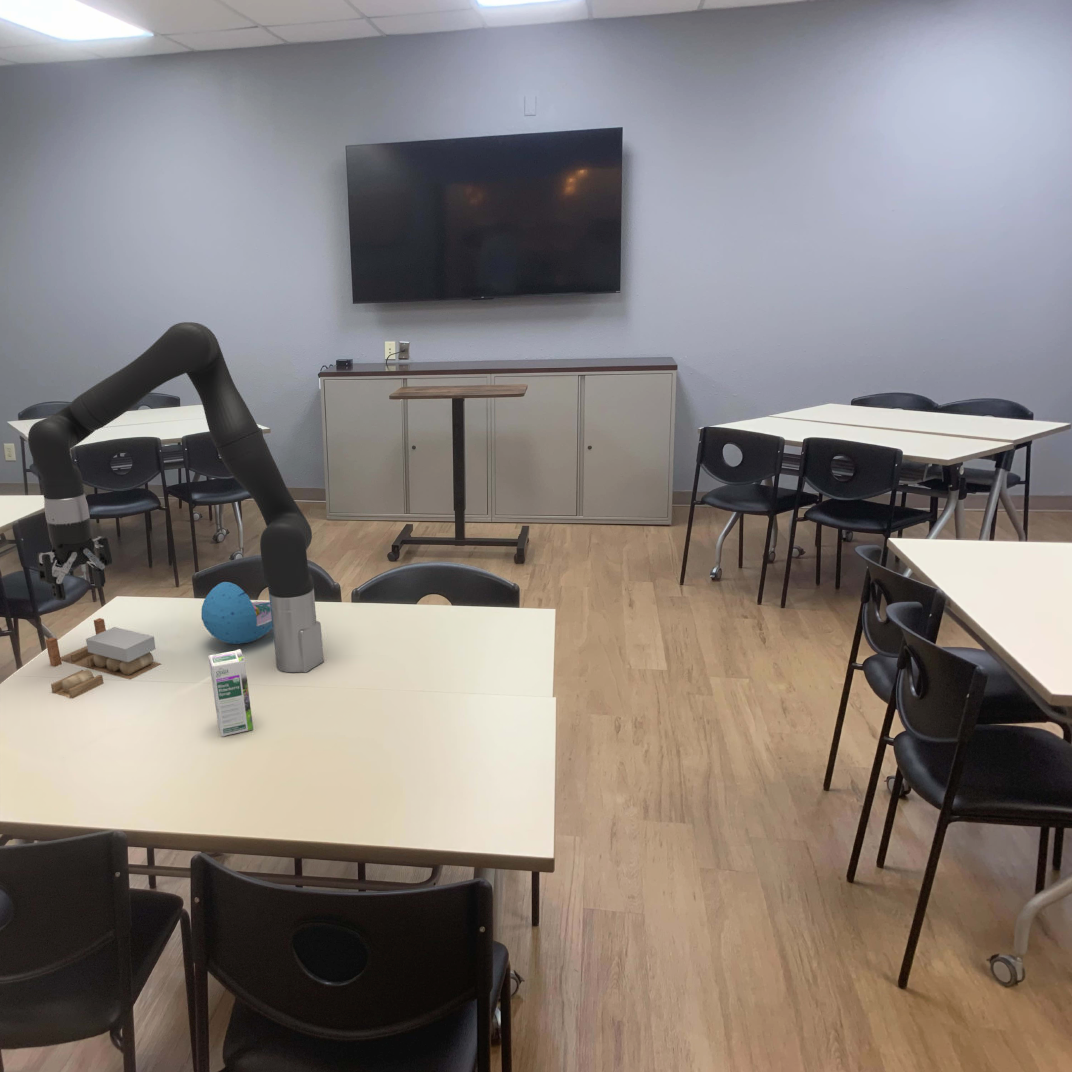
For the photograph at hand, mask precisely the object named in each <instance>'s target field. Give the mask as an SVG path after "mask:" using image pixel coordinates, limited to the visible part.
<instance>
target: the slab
mask: <svg viewBox="0 0 1072 1072" xmlns="http://www.w3.org/2000/svg"><path fill="white" fill-rule="evenodd" d="M85 642H86V643H85V644H86V646H87V648H88V652H90V653H94V654H98V655H102V656H106V657H109V658H113V659H117V660H121V661H125V662H130V661H132V660H134V659H136V658H138V657H140V656H142V655H144V654H147V653H149V652H150V653H151V652H153V651H155V650H156V643H155V637H154V636H153V635H149V634H145V633H142V632H141V633H140V632H136V631H133V630H128V629H125V628H120V627H117V626H114V627H112V628H109V629H106V631H104V632H101V633H99V634H97V635H96V634H95V635H92V636H89V637H88V638H85Z"/></svg>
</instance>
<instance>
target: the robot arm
mask: <svg viewBox="0 0 1072 1072" xmlns="http://www.w3.org/2000/svg"><path fill="white" fill-rule="evenodd" d="M185 374H186V376H187V377H188V378H189V380H190V381H191V383H192V385H193V387H194V389H195V390H196V392H197V394H198V396H199V398H200V401H201V404H202V407H203V412H204V415H205V416H204V417H205V420H206V424H207V427H208V432H209V434H210V437H211V440H212V443H213V444H214V446H215V447H214V448H216V450H217V453H218V454H219V457H220V458H221V461H222V462H223V464H224V466H225V467H226V469H227V471H228V472H229V473H230V474H231V476H232V477H233V478H234V480H235V481H237V483H238V484H240V486H242V488H244V490H245V491H246V492H247V493H248V494H249V496H251V498H252V499H253V500H254V502H255V503H256V506H257V507H258V509H259V511H260V513H261V515H262V517H263V520H264V522H265V525H266V526H265V529H264V530H263V531H262V533H261V535H260V540H259V541H260V543H259V545H260V548H259V549H260V559H261V564H262V572H263V578H264V582H265V585H267V589H268V596H269V597H268V598H269V602H270V609H271V619H272V628H271V629H272V636H273V646H274V654H275V655H274V656H275V664H276V668H277V669H278V670H280V671H281V672H287V673H298V672H299V673H300V672H301V673H302V672H303V673H308V672H309V671H310V670H312V669H314V668H315V667H317V666H318V665H320V664H322V663H323V662H324V661H325V660H324V651H323V649H324V648H323V638H322V637H323V636H322V625H321V622H320V621H317V611H316V599H315V598H316V597H315V589H314V578H313V575H311V574H310V573H309V565H308V556H307V555H308V554H307V550H308V548H309V547H310V545H311V543H312V538H313V532H312V529H311V525H310V524H309V521H308V520H307V518H306V517H305V515H304V513H303V512H302V510H301V509H300V507H299V506H298V504H297V502H296V501H295V499H294V498H293V496H292V495H291V493H290V491H289V489H288V487H287V486H286V483H285V481H284V479H283V476H282V473H281V472H280V470H279V467H278V466H277V464H276V461H275V458H274V457H273V454H272V453H271V450H270V448H269V446H268V443H267V441H266V439H265V438H264V436H263V434H262V432H261V430H260V428H259V426H258V424H257V422H256V420H255V419H254V416H253V414H252V413H251V411H250V409H249V407H248V406H247V404H246V402H245V400H244V398H243V397H242V395H241V394H240V391H239V390H238V388H237V386H236V384H235V382H234V381H233V379H232V375H231V374H230V370H229V368H228V365H227V363H226V360H225V358H224V353H223V352H222V348H221V346H220V343H219V341H218V338H217V337H216V335H215V334H214V333H213V332H212V330H211V329H210V328H209V327H207V326H206V325H204V324H201V323H198V322H194V321H193V322H191V321H190V322H189V321H188V322H183V321H182V322H179V323H178V322H177V323H175V324H173V325H171V326H170V327H169V328H168V329H167V330H166V331H165V332H164V333H163V334H162V335H161V336H160V337H159V338H158V339H157V340H156V341H155V342H154V343H153V344H151V346H150V347H148V349H146V350H145V351H144V352H143V353H142V354H141V355H139V356H138V357H137V358H135V359H134V360H132V361H131V362H130V363H128V364H127V365H125V366H124V367H122V368H121V369H120V370H118V371H116V372H114V373H112V374H110V376H108V377H106V378H105V379H103V380H101V381H99V382H98V383H97V384H95V385H93V386H92V387H90V388H88V389H87V390H86V391H83V393H81V394H80V395H78V396H77V397H75V399H73V400H72V401H71V403H70V404H68V405H67V406H65V407H63V408H62V409H60V410H59V411H57V412H55V413H53V414H51V415H49V416H48V417H46V418H43V419H41V420H38V421H36V422H35V423H34V424H33V425H31V427H30V428H29V430H28V434H27V438H28V439H27V442H28V448H29V452H30V455H31V457H32V460H33V462H34V465H35V467H36V470H37V472H38V474H39V476H40V482H41V483H40V484H41V489H42V494H43V500H44V501H43V503H44V513H45V520H46V525H47V530H48V531H47V532H48V537H49V541H50V543H51V551H48V552H37V553H36V563H37V570H38V572H37V573H38V580H39V582H42V583H45V584H50V586H51V591H52V593H51V594H52V597H53V598H54V599H56V600H57V601H60V602H63V601H65V600H67V597H66V592H65V585H64V582H63V580H64V578H65V577H66V575H67V574H68V573H69V571H70V569H75V568H76V567H78V566H81V565H86V564H88V565H89V566H91V568H93V569H91V572H92V578H93V584H94V587H96V588H103V587H105V584H106V576H105V568H106V567H107V566H108V565H111V564H112V563H113V557H112V553H111V549H110V544H109V540H108V538H107V537H105V536H98V535H96V536H95V537H94V538H93V528H92V524H91V517H90V510H89V504H88V501H87V499H86V494H85V488H84V483H83V477H82V473H81V470H80V469H79V467H78V466H77V465H74V462H73V459H72V458H73V457H72V455H71V449H72V448H74V447H76V446H77V445H79V444H80V443H81V442H82V441H84V440H86V439H87V438H88V437H89V436H91V435H92V434H93V433H94V432H95V431H98V430H100V429H101V428H103V427H105V426H107V425H109V424H110V423H111V422H113V421H115V420H116V419H118V418H119V417H120V416H122V415H125V413H127V412H128V411H129V410H130V409H131V408H133V407H134V406H136V404H138V403H139V402H140V401H141V400H143V399H144V398H145V397H147V395H148V394H150V393H151V392H152V391H154V390H155V389H157V388H158V387H160V386H161V385H164V384H165V383H166V382H169V381H171V380H173V379H176V378H177V377H179V376H183V375H185ZM94 548H96V552H97V555H98V556H96V555H95V554H93V550H94ZM53 559H55V560H53ZM53 562H54V563H53ZM52 563H53V565H52ZM61 566H62V567H61Z"/></svg>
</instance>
